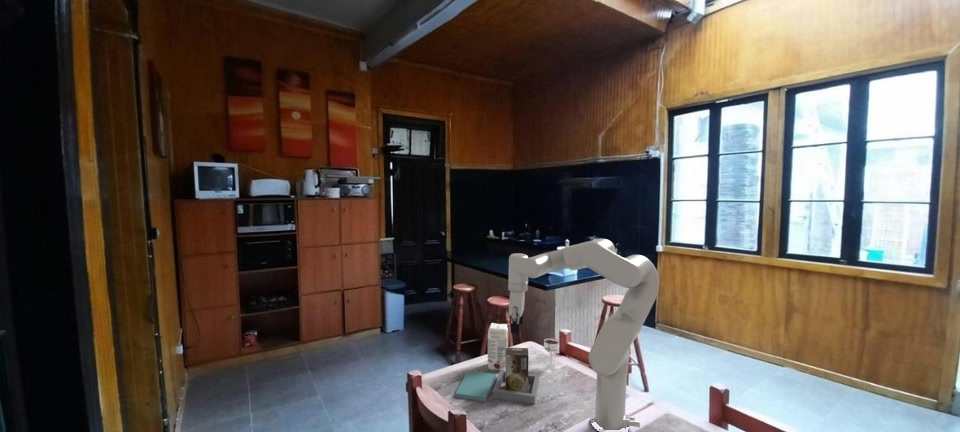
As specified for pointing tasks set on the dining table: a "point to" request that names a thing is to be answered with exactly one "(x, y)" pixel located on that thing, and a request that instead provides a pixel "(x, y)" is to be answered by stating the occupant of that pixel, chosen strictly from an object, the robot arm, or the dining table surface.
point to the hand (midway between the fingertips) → (516, 328)
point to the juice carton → (497, 346)
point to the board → (476, 386)
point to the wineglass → (551, 349)
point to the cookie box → (517, 369)
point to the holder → (512, 394)
